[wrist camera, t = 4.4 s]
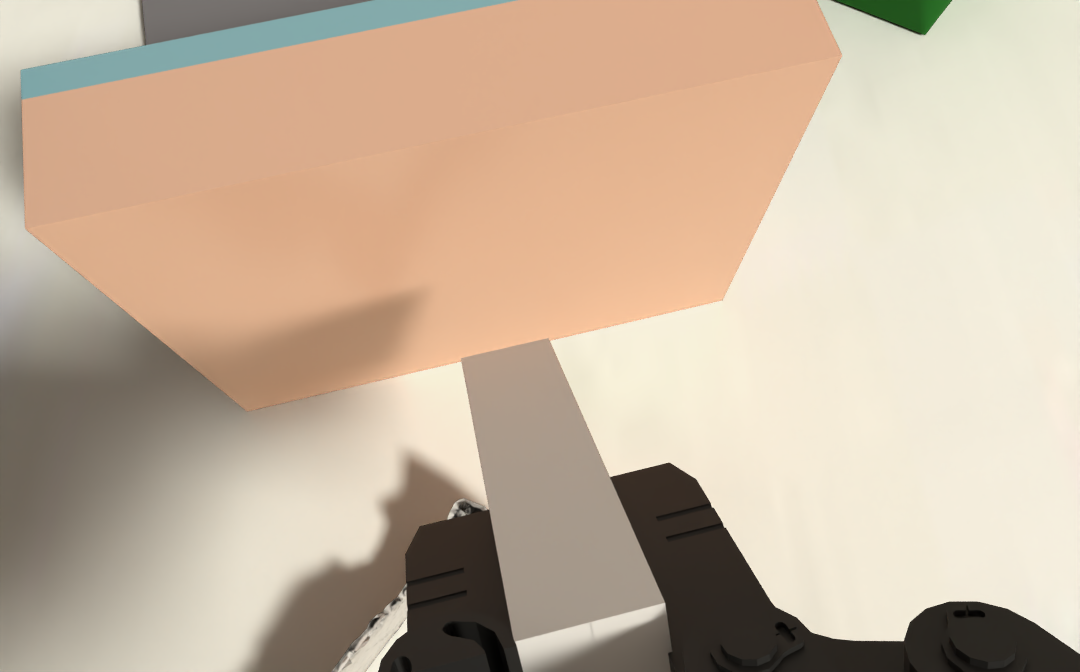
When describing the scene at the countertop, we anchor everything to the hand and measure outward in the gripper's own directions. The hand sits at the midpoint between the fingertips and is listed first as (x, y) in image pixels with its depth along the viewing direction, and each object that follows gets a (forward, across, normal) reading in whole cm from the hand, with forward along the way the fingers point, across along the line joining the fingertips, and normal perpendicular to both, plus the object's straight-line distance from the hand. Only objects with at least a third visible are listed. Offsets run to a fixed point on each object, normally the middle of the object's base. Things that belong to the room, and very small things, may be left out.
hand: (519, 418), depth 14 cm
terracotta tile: (+9, 0, -1) cm, 9 cm away
